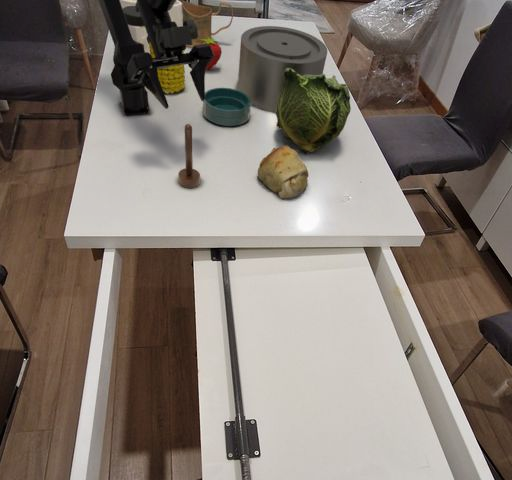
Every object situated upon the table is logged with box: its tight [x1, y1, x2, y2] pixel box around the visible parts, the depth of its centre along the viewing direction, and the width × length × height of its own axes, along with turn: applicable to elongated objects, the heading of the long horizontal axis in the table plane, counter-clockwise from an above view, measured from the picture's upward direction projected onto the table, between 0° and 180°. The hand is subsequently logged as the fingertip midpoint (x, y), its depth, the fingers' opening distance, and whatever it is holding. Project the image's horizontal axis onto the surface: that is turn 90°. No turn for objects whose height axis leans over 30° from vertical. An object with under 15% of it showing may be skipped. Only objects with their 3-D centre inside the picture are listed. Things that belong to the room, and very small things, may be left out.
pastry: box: [257, 145, 309, 200], centre depth 101 cm, size 14×12×8 cm
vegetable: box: [275, 68, 352, 155], centre depth 109 cm, size 20×19×20 cm
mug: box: [181, 0, 234, 49], centre depth 142 cm, size 12×18×12 cm, turn 89°
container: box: [236, 25, 328, 114], centre depth 126 cm, size 25×25×13 cm
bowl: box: [202, 87, 252, 127], centre depth 118 cm, size 13×13×4 cm
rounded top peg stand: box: [178, 123, 201, 189], centre depth 94 cm, size 5×5×14 cm
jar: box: [123, 6, 150, 53], centre depth 130 cm, size 9×8×12 cm
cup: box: [168, 0, 183, 27], centre depth 130 cm, size 7×7×15 cm
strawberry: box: [199, 35, 223, 71], centre depth 131 cm, size 6×8×10 cm
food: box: [149, 43, 186, 95], centre depth 120 cm, size 15×12×10 cm
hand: (185, 104), depth 93 cm, fingers open, 9 cm apart
